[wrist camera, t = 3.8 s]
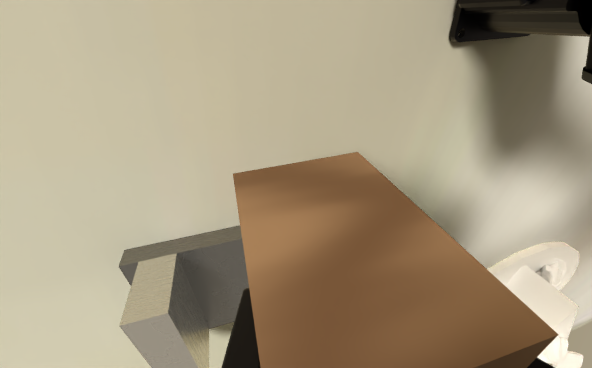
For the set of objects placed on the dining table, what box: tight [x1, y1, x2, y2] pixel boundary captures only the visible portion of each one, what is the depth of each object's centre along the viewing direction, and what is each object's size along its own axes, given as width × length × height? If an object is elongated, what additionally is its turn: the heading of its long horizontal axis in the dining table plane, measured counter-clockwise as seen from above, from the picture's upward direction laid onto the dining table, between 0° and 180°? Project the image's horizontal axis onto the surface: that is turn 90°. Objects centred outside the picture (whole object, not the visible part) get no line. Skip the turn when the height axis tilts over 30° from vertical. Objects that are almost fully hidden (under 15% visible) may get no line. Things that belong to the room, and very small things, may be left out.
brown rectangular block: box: [233, 152, 559, 368], centre depth 8 cm, size 4×8×6 cm, turn 3°
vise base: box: [119, 226, 249, 368], centre depth 21 cm, size 22×10×6 cm, turn 92°
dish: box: [487, 241, 583, 368], centre depth 39 cm, size 25×25×11 cm
